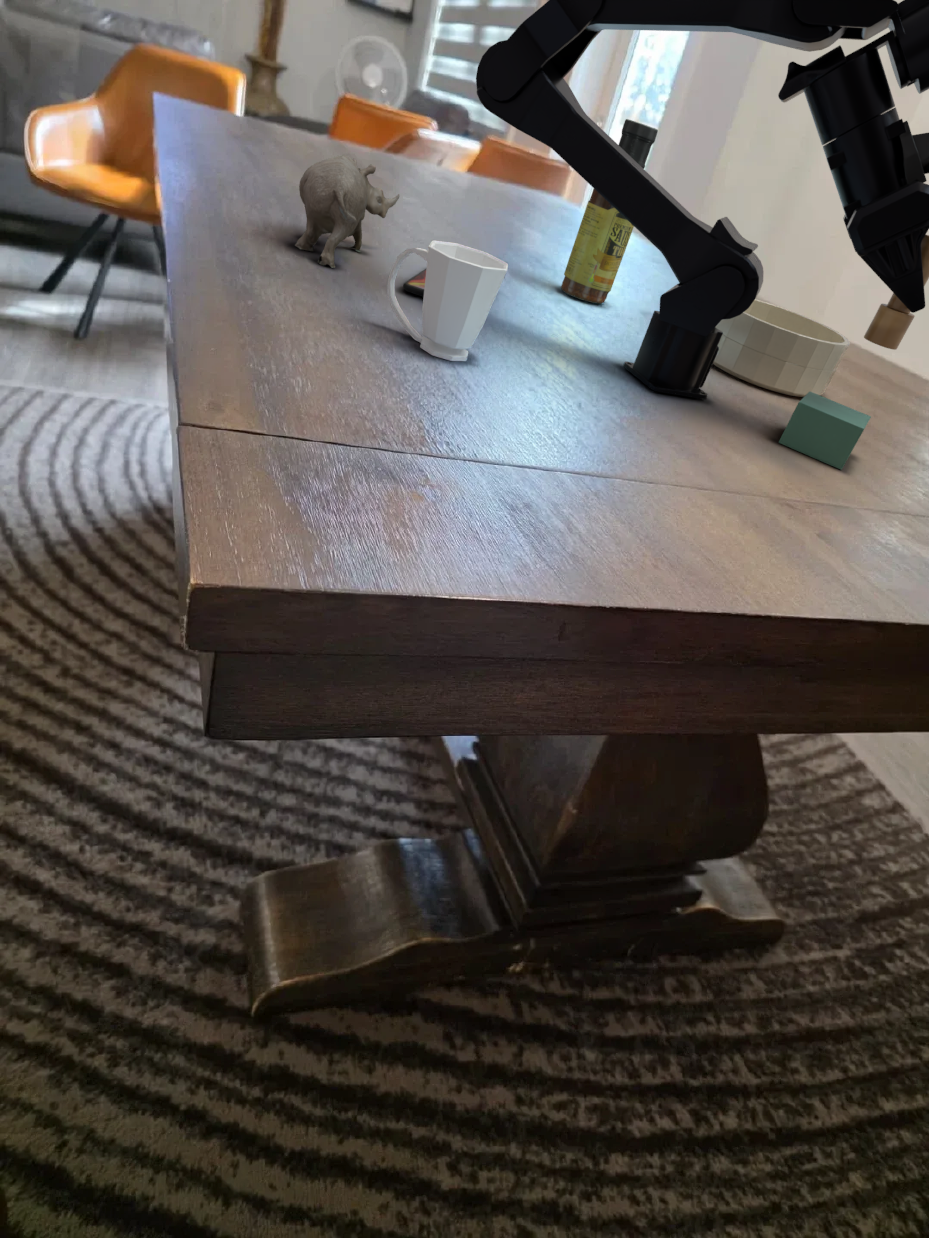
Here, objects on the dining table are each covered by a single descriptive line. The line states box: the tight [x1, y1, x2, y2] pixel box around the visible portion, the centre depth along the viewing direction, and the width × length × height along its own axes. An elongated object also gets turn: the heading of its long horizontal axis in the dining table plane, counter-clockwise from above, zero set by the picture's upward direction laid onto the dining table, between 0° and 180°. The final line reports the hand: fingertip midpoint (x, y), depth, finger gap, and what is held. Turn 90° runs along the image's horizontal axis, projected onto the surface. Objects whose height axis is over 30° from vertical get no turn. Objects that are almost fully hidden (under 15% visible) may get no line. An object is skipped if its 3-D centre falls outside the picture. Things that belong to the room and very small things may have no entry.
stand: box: [778, 392, 872, 471], centre depth 79 cm, size 6×6×4 cm
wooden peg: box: [863, 234, 929, 351], centre depth 74 cm, size 3×3×9 cm
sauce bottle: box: [560, 118, 659, 305], centre depth 104 cm, size 6×6×20 cm
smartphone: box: [402, 268, 426, 298], centre depth 92 cm, size 8×1×15 cm
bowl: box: [712, 298, 851, 398], centre depth 99 cm, size 15×15×6 cm
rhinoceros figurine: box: [294, 154, 401, 269], centre depth 90 cm, size 8×14×15 cm
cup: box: [386, 239, 509, 362], centre depth 72 cm, size 7×10×8 cm
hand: (917, 308), depth 74 cm, fingers closed on wooden peg, 2 cm apart
